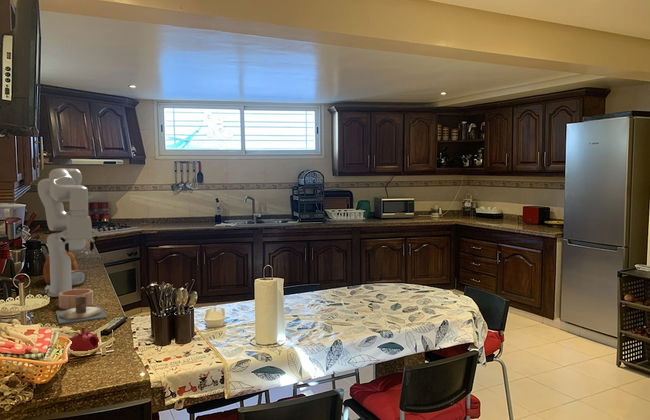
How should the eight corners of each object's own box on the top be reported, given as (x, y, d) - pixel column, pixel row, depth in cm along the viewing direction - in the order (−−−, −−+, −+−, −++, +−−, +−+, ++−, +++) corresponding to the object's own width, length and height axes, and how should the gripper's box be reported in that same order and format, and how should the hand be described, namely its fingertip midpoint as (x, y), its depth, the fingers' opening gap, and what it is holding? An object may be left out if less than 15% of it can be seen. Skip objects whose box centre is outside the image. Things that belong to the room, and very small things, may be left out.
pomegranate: (66, 361, 161) (64, 334, 160) (68, 351, 170) (67, 325, 170) (99, 356, 165) (98, 329, 164) (100, 346, 174) (98, 321, 173)
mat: (55, 312, 216) (55, 311, 216) (100, 307, 226) (100, 305, 226) (59, 324, 199) (59, 323, 199) (106, 318, 209) (106, 316, 209)
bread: (77, 275, 296) (76, 247, 294) (78, 282, 277) (77, 252, 276) (44, 278, 287) (43, 249, 286) (42, 285, 269) (41, 255, 267)
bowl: (52, 307, 224) (51, 294, 223) (73, 300, 238) (73, 288, 237) (79, 309, 221) (79, 296, 221) (99, 301, 235) (98, 289, 235)
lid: (61, 321, 202) (61, 302, 201) (58, 312, 215) (58, 294, 215) (103, 315, 210) (103, 297, 210) (98, 307, 224) (98, 289, 223)
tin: (84, 283, 275) (84, 268, 274) (87, 283, 273) (86, 269, 273) (56, 287, 264) (56, 272, 263) (59, 288, 262) (58, 273, 261)
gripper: (57, 215, 213) (58, 254, 215) (101, 214, 222) (101, 251, 224) (56, 213, 220) (57, 250, 221) (98, 212, 229) (99, 248, 230)
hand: (79, 251), depth 223 cm, fingers open, 9 cm apart
